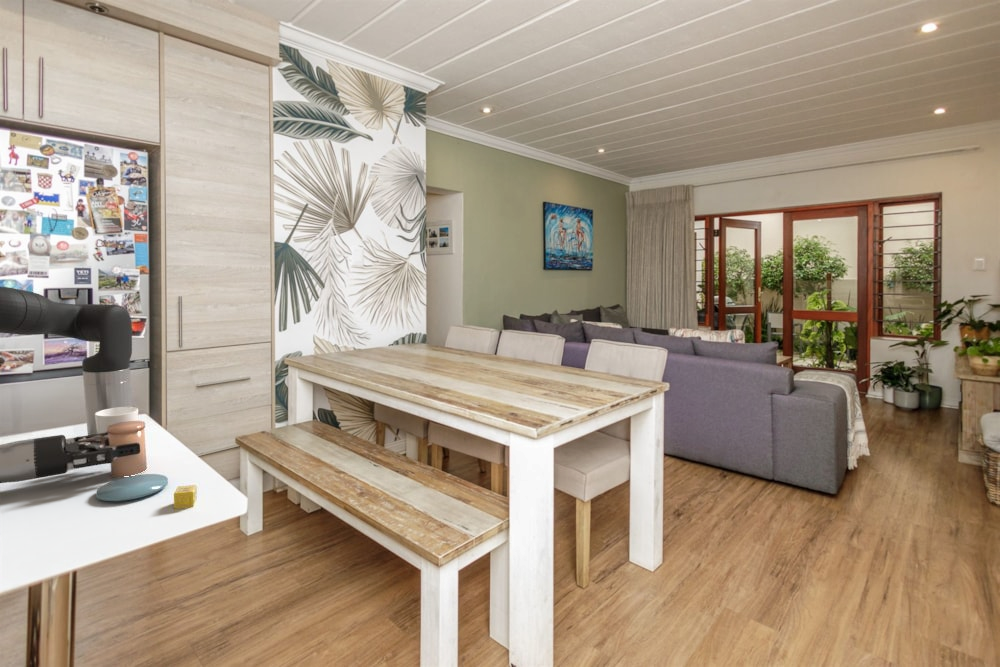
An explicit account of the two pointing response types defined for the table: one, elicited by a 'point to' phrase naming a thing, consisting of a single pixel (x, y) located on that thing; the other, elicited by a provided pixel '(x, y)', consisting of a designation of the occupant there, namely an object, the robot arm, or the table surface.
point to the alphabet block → (185, 496)
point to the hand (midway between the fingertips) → (138, 442)
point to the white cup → (114, 417)
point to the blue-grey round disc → (132, 487)
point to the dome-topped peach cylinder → (128, 435)
